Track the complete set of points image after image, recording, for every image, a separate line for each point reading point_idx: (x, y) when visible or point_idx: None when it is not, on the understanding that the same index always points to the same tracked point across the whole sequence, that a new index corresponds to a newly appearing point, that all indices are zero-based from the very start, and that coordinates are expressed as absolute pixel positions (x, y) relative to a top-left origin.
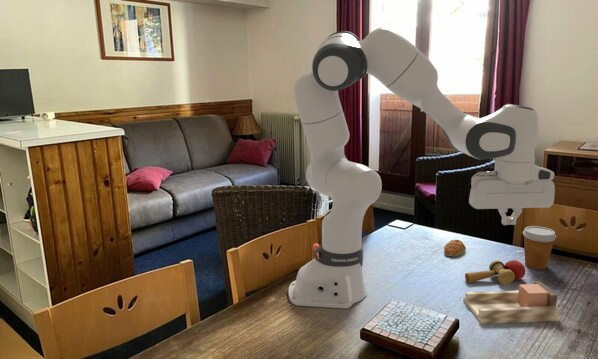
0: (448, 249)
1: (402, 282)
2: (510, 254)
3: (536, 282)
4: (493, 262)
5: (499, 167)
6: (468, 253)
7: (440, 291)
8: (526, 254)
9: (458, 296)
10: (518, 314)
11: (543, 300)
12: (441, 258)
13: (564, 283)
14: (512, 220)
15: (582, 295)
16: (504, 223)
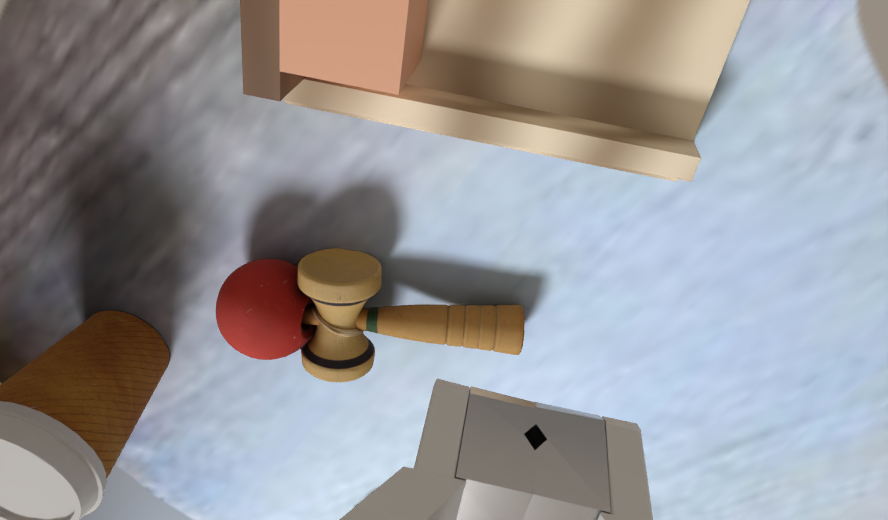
0: None
1: (828, 396)
2: (187, 441)
3: (275, 91)
4: (351, 374)
5: None
6: (353, 494)
7: (716, 280)
8: (144, 393)
9: (665, 215)
10: None
11: None
12: None
13: (73, 181)
14: (497, 452)
15: (37, 55)
16: (641, 442)
